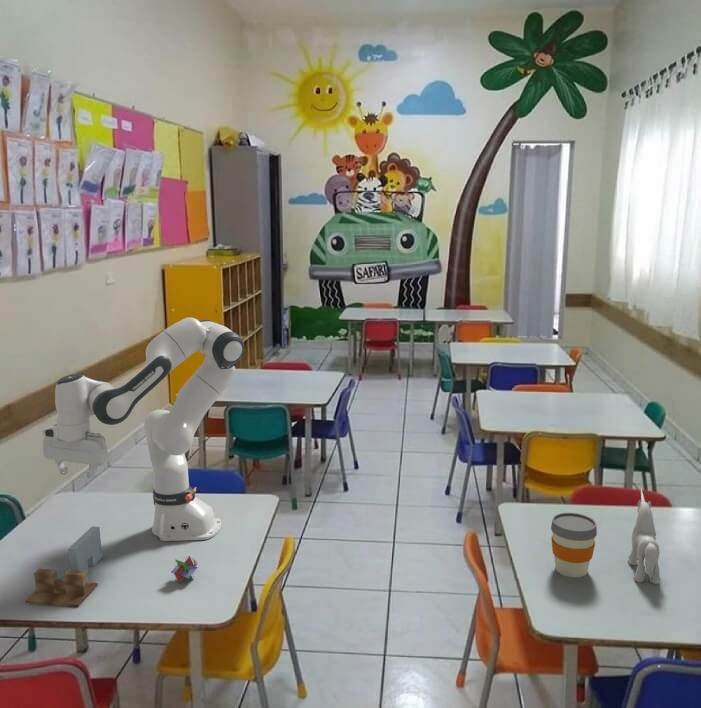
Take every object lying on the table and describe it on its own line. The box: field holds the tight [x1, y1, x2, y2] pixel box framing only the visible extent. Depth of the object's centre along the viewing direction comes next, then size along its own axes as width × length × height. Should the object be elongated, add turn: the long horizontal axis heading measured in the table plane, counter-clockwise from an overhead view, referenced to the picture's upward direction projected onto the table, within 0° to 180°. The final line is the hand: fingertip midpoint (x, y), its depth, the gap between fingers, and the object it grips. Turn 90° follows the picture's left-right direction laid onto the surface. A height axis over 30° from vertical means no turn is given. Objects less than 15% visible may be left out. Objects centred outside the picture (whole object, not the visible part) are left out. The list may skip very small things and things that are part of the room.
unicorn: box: [627, 488, 661, 585], centre depth 204 cm, size 8×25×20 cm, turn 167°
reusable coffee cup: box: [550, 512, 598, 579], centre depth 203 cm, size 13×13×15 cm
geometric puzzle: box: [170, 556, 199, 585], centre depth 201 cm, size 7×7×8 cm
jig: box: [25, 567, 99, 608], centre depth 194 cm, size 15×11×7 cm
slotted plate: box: [67, 526, 103, 574], centre depth 207 cm, size 14×2×10 cm, turn 173°
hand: (77, 475), depth 207 cm, fingers open, 8 cm apart
